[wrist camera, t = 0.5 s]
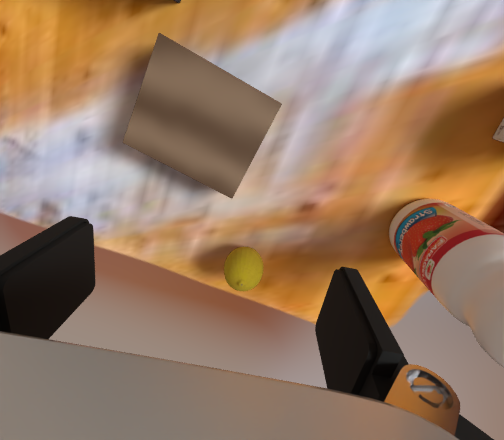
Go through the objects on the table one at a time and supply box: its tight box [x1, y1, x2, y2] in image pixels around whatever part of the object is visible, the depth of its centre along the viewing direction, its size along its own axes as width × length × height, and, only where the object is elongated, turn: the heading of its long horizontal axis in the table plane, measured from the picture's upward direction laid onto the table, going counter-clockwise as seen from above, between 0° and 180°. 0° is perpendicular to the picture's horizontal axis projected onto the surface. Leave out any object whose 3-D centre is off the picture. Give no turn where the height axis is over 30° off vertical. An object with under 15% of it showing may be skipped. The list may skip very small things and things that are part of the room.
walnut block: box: [123, 33, 282, 198], centre depth 34 cm, size 12×14×6 cm
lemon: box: [224, 247, 263, 291], centre depth 40 cm, size 6×6×8 cm
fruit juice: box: [389, 199, 504, 367], centre depth 27 cm, size 9×9×28 cm
